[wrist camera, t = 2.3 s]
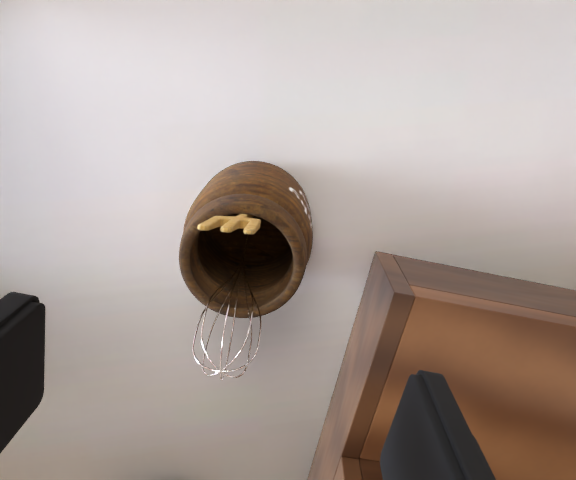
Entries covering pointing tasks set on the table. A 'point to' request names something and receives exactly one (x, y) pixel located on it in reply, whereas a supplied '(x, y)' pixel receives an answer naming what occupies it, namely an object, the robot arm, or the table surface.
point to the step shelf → (458, 368)
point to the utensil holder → (246, 245)
